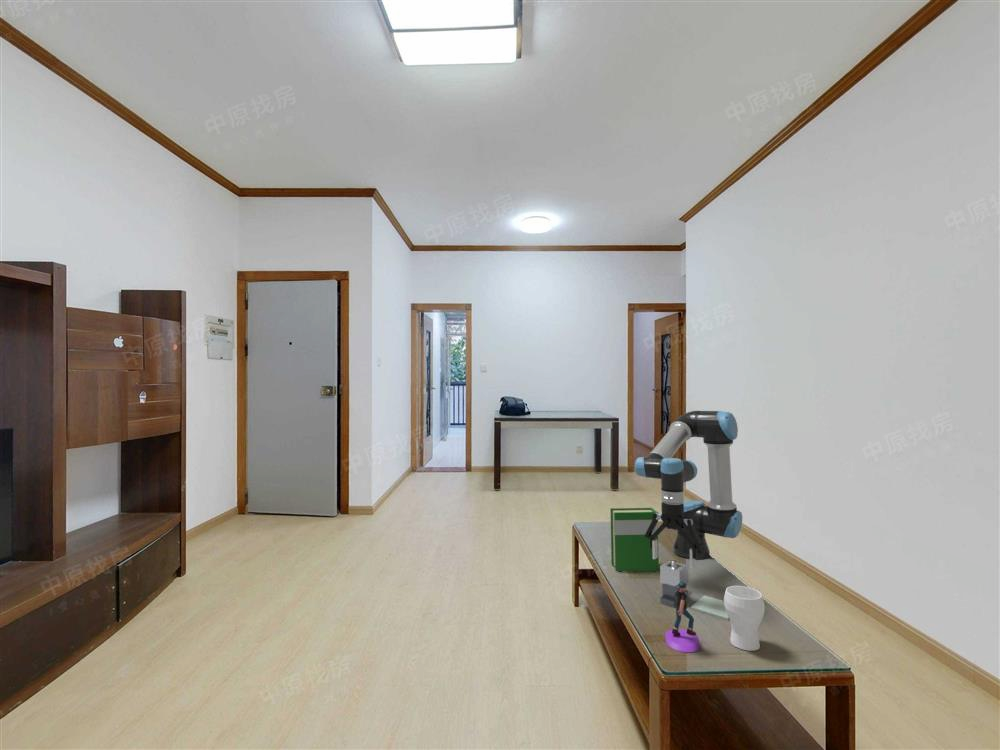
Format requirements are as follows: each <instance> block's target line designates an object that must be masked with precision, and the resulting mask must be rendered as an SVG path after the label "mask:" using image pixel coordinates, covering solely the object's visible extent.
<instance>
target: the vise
mask: <svg viewBox="0 0 1000 750" xmlns="http://www.w3.org/2000/svg"><path fill="white" fill-rule="evenodd" d="M670 561H671V567H673V568H677V563H678V561H677V560H673V559H672V560H670ZM661 585H662V595H661V596H660V598H659V600H660V601H659V602H660V603H659V604H662V605H664V606H668V607H671V608H676V606H675V604H676V601H677V599H676V597H675V593H676V592H677V590H679V589H676V588H675V587H673V586H669V585H666V584H662V583H661ZM684 593H685V594H686V595H687V598H688V597H689V590H688V589H686V590H685V591H684Z"/></svg>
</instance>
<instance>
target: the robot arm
mask: <svg viewBox="0 0 1000 750" xmlns="http://www.w3.org/2000/svg"><path fill="white" fill-rule="evenodd" d="M738 429H739V428H738V423H737V419H736V417H735V416H734V415H733V413H731V412H729V411H725V410H724V411H722V410H692V411H689V412H686V413H683V414H682V415H680V416H678V417H677V418H676V419H674V420H673V421H672V423H671V424H670V425H669V427H668V431H667V433H665V435H664V436H663V437H662V439H661V440H660V441H659V442H658V443H657V444H656V445H655V447H654V448H653V449H652V450H651V452H650V453H649V454H648V455H647V456H646V457H645V456H642V457H640V456H639V457H637V458H636V460H635V462H634V471H635V474H636V475H637V476H639V477H644V478H651V479H659V480H660V482H661V483H660V485H661V487H660V488H661V489H660V490H661V492H660V493H661V495H660V496H661V498H660V499H661V501H662V502H661V514H660V513H659V512H658V511H657V513H655V514H653V520H652V522H651V524H650V526H649V528H648V530H647V532H646V534H645V537H648V538H649V539H650V548H651V549H652V552H653V559H656V558H658V554H659V539H658V540H657V539H655V538H656V537H657V536H658V537H659V535H660V534H661V533H662V532H663V531H664V530H665V528H667V529H668V530H674V531H677V532H676V533H677V534H676V538H675V541H674V544H673V549H672V550H673V551H672V552H673V553H674V555H676V554H677V555H676V556H678V555H679V556H678V557H681V556H682V557H681V558H684V557H685V559H689V569H694V568H695V567H696V560H704V559H705V560H706V559H708V558H709V557H710V555H711V553H710V548H709V545H708V543H707V539H706V534H707V535H712V536H718V537H723V538H726V539H727V538H728V539H735V538H737V537H738V536H739V534H740V532H741V529H742V524H743V513H742V511H740V510H737V504H736V503H735V502H734V501H733V491H732V490H733V489H732V488H733V486H732V470H731V468H732V467H731V453H730V451H731V450H730V447H731V446H732V445H733V444H734V440H736V439H737V438H738V432H739V430H738ZM691 438H702V440H703V444H704V445H705V446H706V447H707V458H708V459H707V462H708V476H709V481H708V482H709V496H710V499H709V501H708V502H707V503H706V505H705V502H704V501H703V500H702V501H701V500H685V499H684V494H685V493H684V483H687V482H691V481H692V480H694V479H695V478H696V477H697V476H698V468H697V465H696V464H695V463H694V462H693V461H692V460H687V459H686V460H685V459H683V460H682V459H681V458H678V457H677V458H676V457H674V455H675V454H676V453H677V451H678V450H679V449H680V448H681V446H682V445H683V443H685V442H687V441H689V440H690V439H691ZM659 520H661V521H662V523H661V524H660V525H659V526H658V529H657V530H656V531H655V532H654V533H653V534H652V532H653V530H654V528H655V526H656V524H657V522H658V523H659Z"/></svg>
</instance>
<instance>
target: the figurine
mask: <svg viewBox="0 0 1000 750" xmlns="http://www.w3.org/2000/svg"><path fill="white" fill-rule="evenodd" d="M675 588H676V589H679V590H677V592H676V593H675V597H676V599H677V601H676V604H675V606H676V607H675V614H676V617H675V618H676V619H675V622H674V625H673V627H672V629H669V630H667V631H666V632H665V643H666V645H667V646H668V647H669V648H670V649H672V650H675V651H678V652H683V653H693V652H696V651H698V650H699V649H700V638H699V636H698V635H697V631H694V621H695V618H694V617H693V616H692V614H691V613H690V612H689V611H688V610H687V609H688V606H687V605H688V604H687V601H688V597H687V595H686V594H685V593H684V591H685V590H687V583H686V584H685V583H684V582H680V583H679V584H678V585H676V586H675ZM682 615H683V616H685V617H686V618H687V619H688V625H687V628H686V629H681V628H680V624H681V621H682Z"/></svg>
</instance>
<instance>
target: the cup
mask: <svg viewBox="0 0 1000 750" xmlns="http://www.w3.org/2000/svg"><path fill="white" fill-rule="evenodd" d="M723 601H724V606H725V609H726V612H727V615H728V617H729V620H730V625H731V632H730V639H729V640H730V643H731V645H732V646H734V647H736V648H737V649H740V650H744V651H749V652H753V651H757V650H759V649H760V647H761V646H760V639H759V634H758V631H759V626H760V625H761V623H762V621H763V619H764V615H765V609H766V608H765V601H764V598H763V594H762V593H761V592H760V591H758V590H757V589H755V588H752V587H749V586H744V585H743V586H742V585H731V586H728V587H726V589H725V592H724V596H723Z"/></svg>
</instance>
